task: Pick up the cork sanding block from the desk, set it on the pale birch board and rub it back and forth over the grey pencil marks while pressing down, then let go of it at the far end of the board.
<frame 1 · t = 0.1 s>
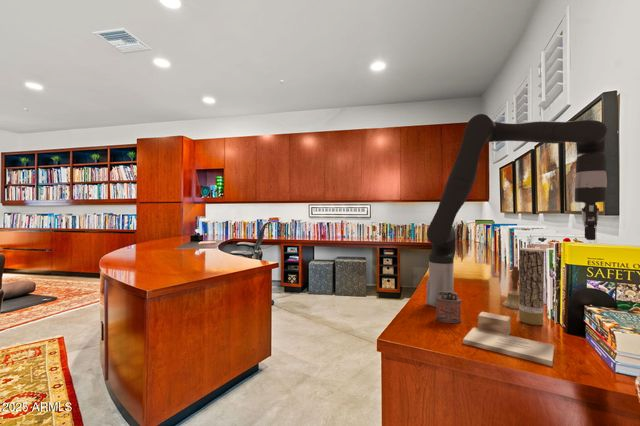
hand: (589, 239, 96), 29 cm above the table, fingers open, 8 cm apart
birch board: (507, 346, 85), on the table
hand bell: (514, 306, 124), on the table
bark textured post: (530, 323, 105), on the table
cork block: (494, 332, 96), on the table
lighter: (448, 321, 106), on the table
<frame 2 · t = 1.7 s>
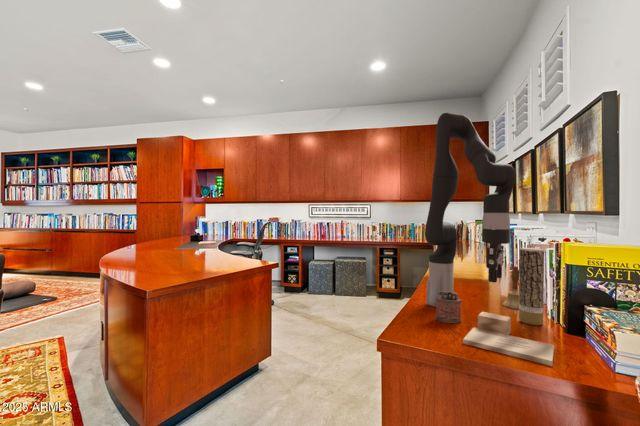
hand: (495, 279, 96), 16 cm above the table, fingers open, 8 cm apart
nothing on the table moved.
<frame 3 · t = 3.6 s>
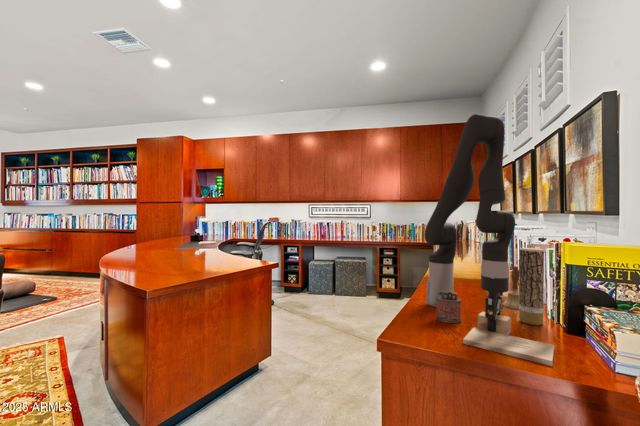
hand: (494, 327, 96), 1 cm above the table, fingers open, 7 cm apart
nothing on the table moved.
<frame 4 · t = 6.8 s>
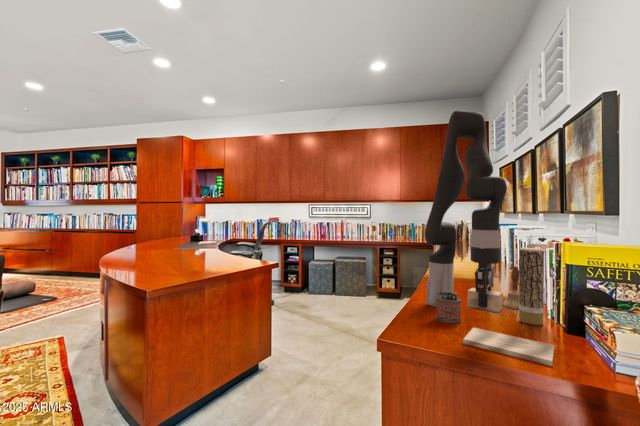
hand: (484, 304, 89), 10 cm above the table, fingers closed on cork block, 5 cm apart
cork block: (484, 308, 89), point 9 cm above the table, touching gripper
everything else where it was.
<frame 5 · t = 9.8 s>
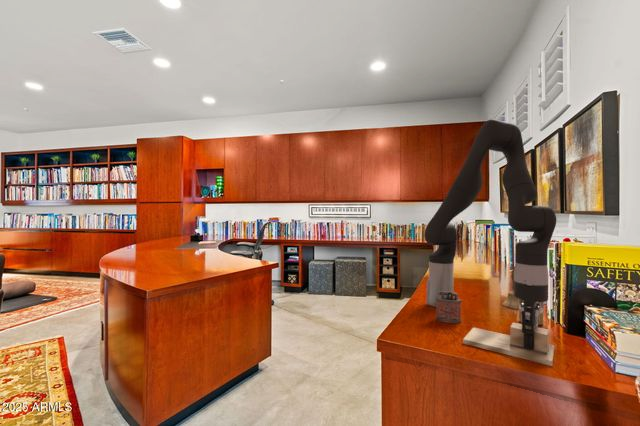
hand: (530, 344, 82), 2 cm above the table, fingers closed on cork block, 5 cm apart
cork block: (529, 347, 82), point 1 cm above the table, touching gripper
everything else where it was.
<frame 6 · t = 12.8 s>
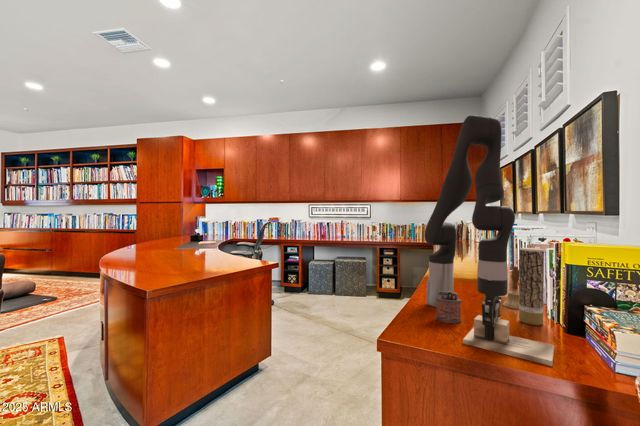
hand: (491, 336, 87), 2 cm above the table, fingers closed on cork block, 5 cm apart
cork block: (491, 337, 87), point 1 cm above the table, touching gripper
everything else where it was.
when the fingers open (2 cm above the table, at t = 15.6 s): cork block stays where it is, resting on birch board.
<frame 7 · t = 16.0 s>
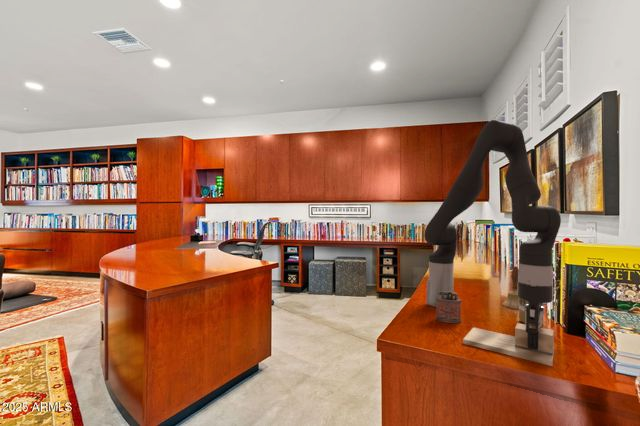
hand: (534, 343, 81), 2 cm above the table, fingers open, 8 cm apart
cork block: (533, 348, 81), point 1 cm above the table, touching birch board
everything else where it was.
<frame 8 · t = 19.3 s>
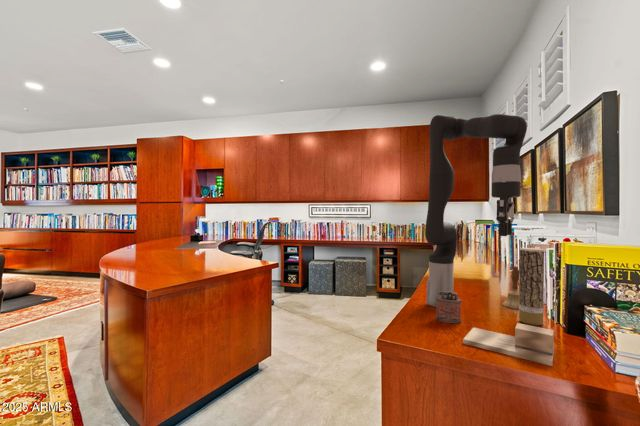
hand: (505, 235, 93), 30 cm above the table, fingers open, 8 cm apart
nothing on the table moved.
at the end: cork block inside the target area on the birch board (0.4 cm from its centre), point 1.2 cm above the birch board's base; cork block moved 14.8 cm from its start; the gripper is holding nothing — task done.
